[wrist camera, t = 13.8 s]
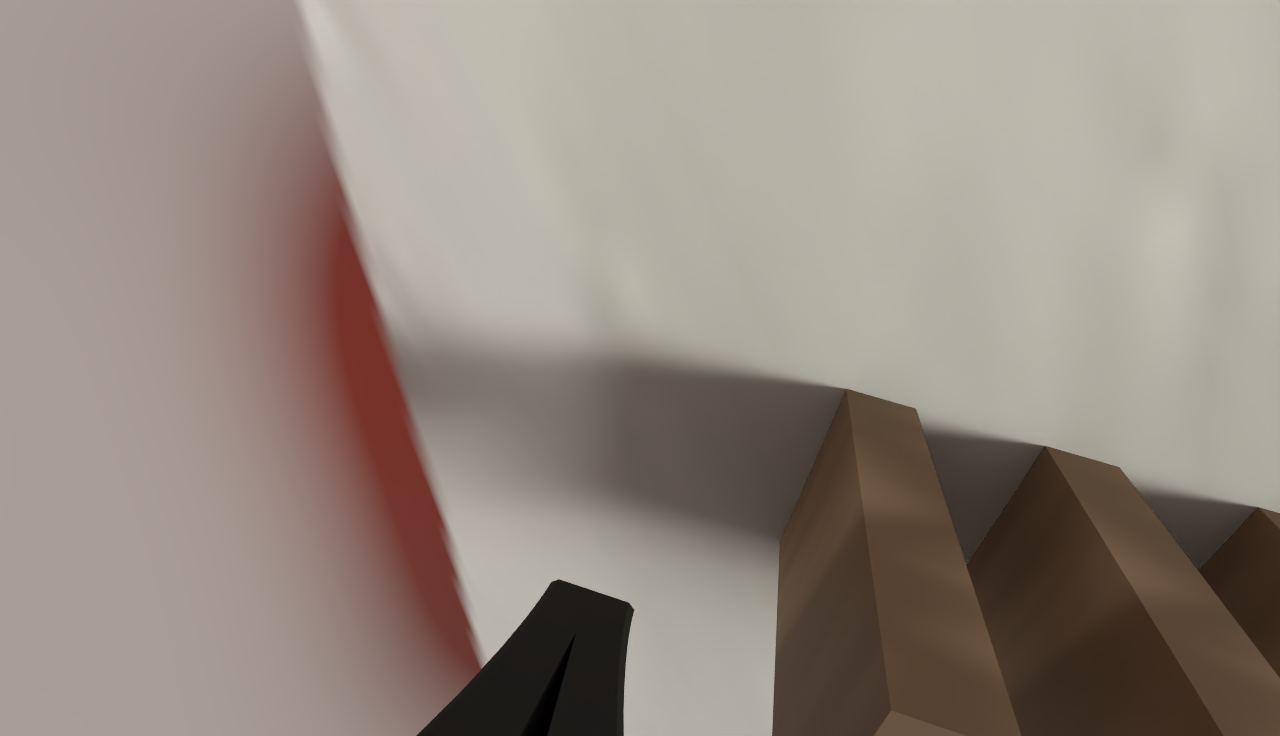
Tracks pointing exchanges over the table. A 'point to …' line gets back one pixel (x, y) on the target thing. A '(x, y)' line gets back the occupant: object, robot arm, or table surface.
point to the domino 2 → (1111, 616)
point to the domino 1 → (880, 595)
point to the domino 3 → (1252, 581)
